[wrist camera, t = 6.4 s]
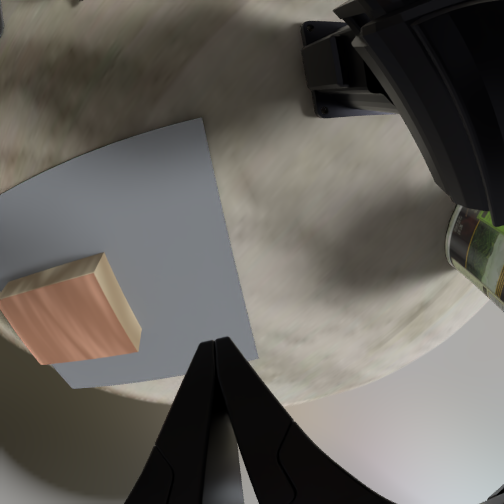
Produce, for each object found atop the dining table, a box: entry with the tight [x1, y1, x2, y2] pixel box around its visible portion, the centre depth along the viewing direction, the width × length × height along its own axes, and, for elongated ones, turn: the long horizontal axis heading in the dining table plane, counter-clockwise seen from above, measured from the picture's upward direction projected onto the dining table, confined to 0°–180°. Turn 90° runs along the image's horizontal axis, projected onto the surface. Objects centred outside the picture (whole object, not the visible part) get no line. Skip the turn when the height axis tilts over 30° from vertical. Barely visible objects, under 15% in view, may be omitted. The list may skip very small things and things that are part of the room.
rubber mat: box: [0, 117, 259, 389], centre depth 19 cm, size 20×20×1 cm
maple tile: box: [0, 252, 142, 365], centre depth 18 cm, size 2×7×10 cm
